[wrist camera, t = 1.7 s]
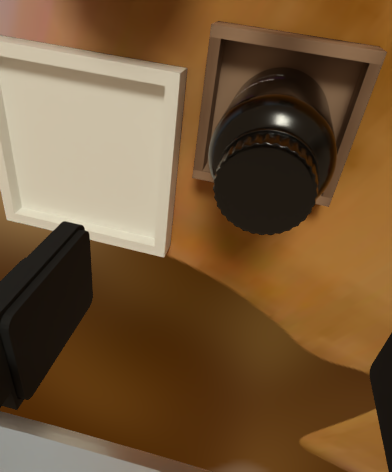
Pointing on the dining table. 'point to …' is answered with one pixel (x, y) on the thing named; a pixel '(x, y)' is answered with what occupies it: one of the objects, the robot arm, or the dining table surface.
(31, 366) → the robot arm
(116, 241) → the tray
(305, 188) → the supplement bottle
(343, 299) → the dining table surface
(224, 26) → the holder
